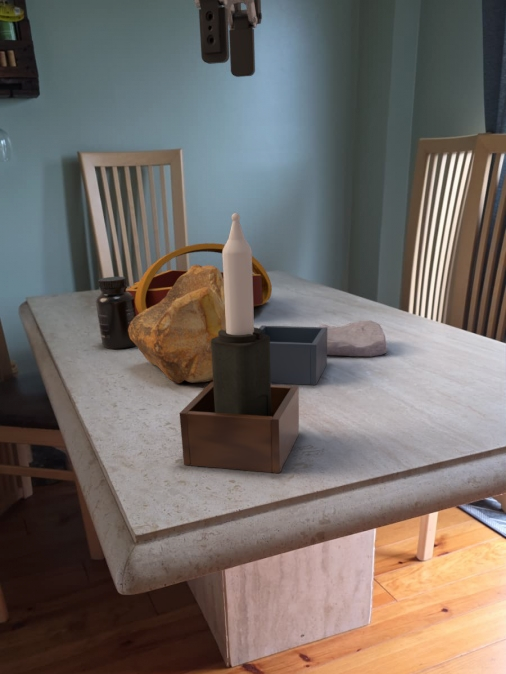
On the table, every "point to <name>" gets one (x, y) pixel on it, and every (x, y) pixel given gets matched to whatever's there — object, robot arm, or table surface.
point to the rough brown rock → (183, 326)
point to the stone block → (356, 339)
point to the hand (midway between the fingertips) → (230, 69)
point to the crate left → (240, 433)
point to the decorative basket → (159, 285)
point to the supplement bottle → (115, 312)
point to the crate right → (296, 353)
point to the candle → (240, 338)
